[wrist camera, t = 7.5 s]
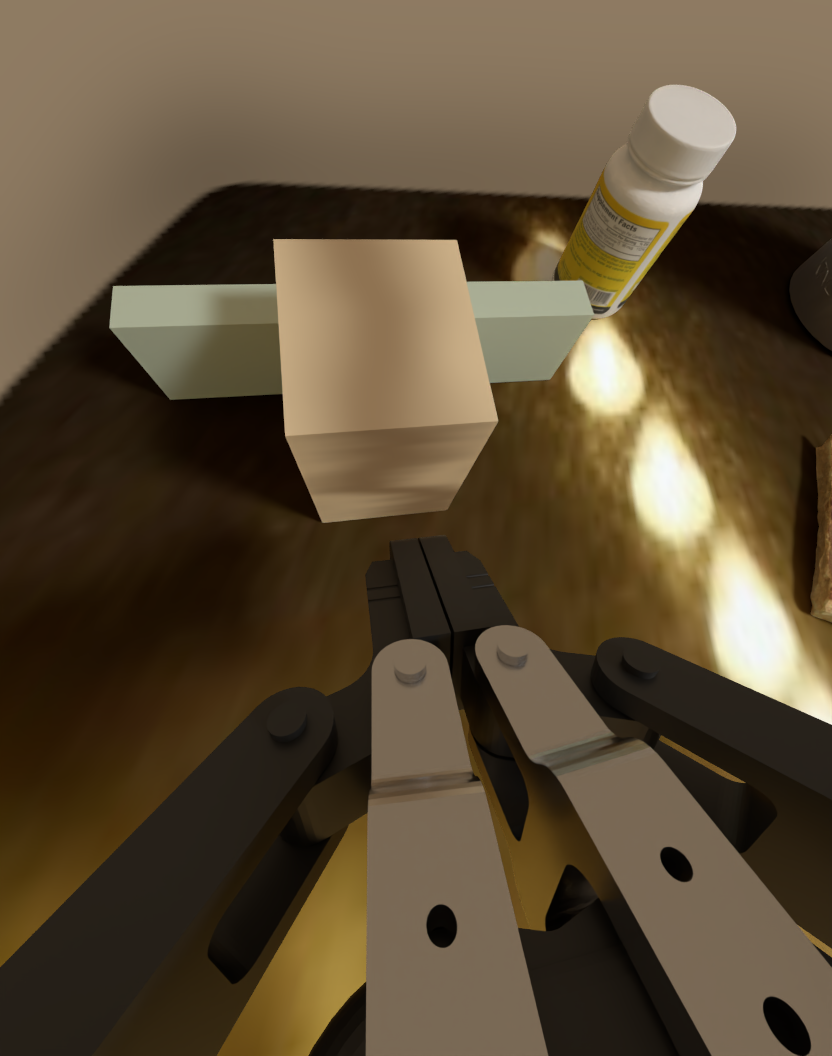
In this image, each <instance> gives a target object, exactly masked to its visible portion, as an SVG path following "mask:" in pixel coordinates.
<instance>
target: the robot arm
mask: <svg viewBox="0 0 832 1056" xmlns="http://www.w3.org/2000/svg"><path fill="white" fill-rule="evenodd" d="M789 292H790V298H791V302H792V305H793V307H794V310H795V312H796V314H797V316H798V317H799V319H800V321H801V322H802V324H803V325H804V326H805V327H806V329H807V330H808V331H809V332H810V333H811V334H812V336H813V337H815V338H816V339H817V340H818V341H819V342H820V343H821V344H822V345H824V346H825V347H826V348H828V349H829V350H831V351H832V239H830V240H829V241H828V242H827V243H826V244H825V245H824V246H822V247H821V248H820V249H819V250H818V251H817V252H816V253H814V254H813V255H812V256H811V257H810V258H809V259H808V260H806V261H805V262H804V263H803V264H802V265H801V266H800V267H799V268H798V269H797V270H796V271H795V272H794V273H793V276H792V278H791V280H790V288H789ZM366 585H367V595H368V604H369V614H370V623H371V633H372V643H373V657H372V661H371V663H370V666H369V667H368V669H367V671H366V672H365V673H364V674H363V675H362V676H361V677H360V678H359V679H358V680H357V681H356V682H354V683H353V684H351V685H349V686H348V687H346V688H344V689H342V690H340V691H337V692H335V693H333V694H331V695H329V696H327V697H326V696H325V695H324V694H322V693H321V692H319V691H317V690H315V689H312V688H307V687H295V688H290V689H286V690H283V691H280V692H278V693H276V694H274V695H272V696H270V697H269V698H267V699H266V700H264V701H263V702H262V703H261V704H260V705H259V706H257V707H256V708H255V709H254V710H253V711H252V713H251V714H250V715H249V716H248V717H247V718H246V719H245V720H244V721H243V722H242V723H241V724H240V725H239V726H238V727H237V728H236V729H235V730H234V731H233V732H232V733H231V734H230V735H229V736H228V737H227V738H226V739H225V740H224V741H223V742H222V743H221V744H220V745H219V746H218V747H217V748H216V749H215V750H214V751H213V752H212V753H211V754H210V755H209V756H208V757H207V758H206V759H205V760H204V761H203V762H202V763H201V764H200V765H199V766H198V767H197V768H196V769H195V770H194V771H193V772H192V773H191V774H190V775H189V776H188V777H187V778H186V780H185V781H184V782H183V783H182V784H181V785H180V786H179V787H178V788H177V789H176V790H175V791H174V792H173V793H172V794H171V795H170V796H169V797H168V798H167V799H166V800H165V801H164V802H163V803H162V804H161V805H160V806H159V807H158V808H157V809H156V810H155V811H154V812H153V813H152V814H151V815H150V816H149V817H148V818H147V819H146V820H145V821H144V822H143V823H142V824H141V825H140V826H139V827H138V828H137V829H136V830H135V831H134V832H133V833H132V834H131V835H130V836H129V837H128V838H127V839H126V840H125V841H124V842H123V843H122V844H121V845H120V847H119V848H118V849H117V850H116V851H115V852H114V853H113V854H112V855H111V856H110V857H109V858H108V859H107V860H106V861H105V862H104V863H103V864H102V865H101V866H100V867H99V868H98V869H97V870H96V871H95V872H94V873H93V874H92V875H91V876H90V877H89V878H88V879H87V880H86V881H85V882H84V883H83V884H82V885H81V886H80V887H79V888H78V889H77V890H76V891H75V892H74V893H73V894H72V895H71V896H70V897H69V898H68V899H67V900H66V901H65V902H64V903H63V904H62V905H61V906H60V907H59V908H58V909H57V910H56V911H55V912H54V913H53V915H52V916H51V917H50V918H49V919H48V920H47V921H46V922H45V923H44V924H43V925H42V926H41V927H40V928H39V929H38V930H37V931H36V932H35V933H34V934H33V935H32V936H31V937H30V938H29V939H28V940H27V941H26V942H25V943H24V944H23V945H22V946H21V947H20V948H19V949H18V950H17V951H16V952H15V953H14V954H13V955H12V956H11V957H10V958H9V959H8V960H7V961H6V962H5V963H4V964H3V965H2V966H1V967H0V1056H217V1054H218V1052H219V1050H220V1049H221V1047H222V1045H223V1043H224V1042H225V1040H226V1038H227V1037H228V1035H229V1033H230V1031H231V1030H232V1028H233V1026H234V1024H235V1023H236V1021H237V1019H238V1017H239V1016H240V1014H241V1012H242V1011H243V1009H244V1007H245V1005H246V1004H247V1002H248V1000H249V998H250V997H251V995H252V993H253V991H254V990H255V988H256V986H257V985H258V983H259V981H260V979H261V978H262V976H263V974H264V972H265V971H266V969H267V967H268V966H269V964H270V962H271V960H272V959H273V957H274V955H275V953H276V952H277V950H278V948H279V946H280V945H281V943H282V941H283V940H284V938H285V936H286V934H287V933H288V931H289V929H290V927H291V926H292V924H293V922H294V921H295V919H296V917H297V915H298V914H299V912H300V910H301V908H302V907H303V905H304V903H305V901H306V900H307V898H308V896H309V895H310V893H311V891H312V889H313V888H314V886H315V884H316V882H317V881H318V879H319V877H320V875H321V874H322V872H323V870H324V869H325V867H326V865H327V863H328V862H329V860H330V858H331V856H332V855H333V853H334V851H335V850H336V848H337V846H338V844H339V843H340V841H341V839H342V837H343V836H344V834H345V832H346V830H347V828H348V825H349V824H350V823H352V822H353V821H355V820H356V819H358V818H360V817H361V816H363V815H364V814H366V813H367V812H368V844H367V967H366V982H365V983H364V984H363V985H362V986H361V987H360V988H359V989H358V990H357V991H356V992H355V993H354V994H353V995H352V996H350V998H349V999H348V1000H347V1001H346V1002H345V1004H344V1005H343V1006H342V1007H341V1009H340V1010H339V1011H338V1012H337V1013H336V1015H335V1016H334V1017H333V1018H332V1019H331V1021H330V1022H329V1024H328V1026H327V1027H326V1029H325V1030H324V1032H323V1033H322V1035H321V1036H320V1038H319V1039H318V1041H317V1042H316V1044H315V1045H314V1047H313V1048H312V1050H311V1052H310V1054H309V1056H832V958H831V957H830V956H829V955H827V954H826V953H825V952H823V951H822V950H821V949H819V948H818V947H816V946H815V945H814V944H812V943H811V942H810V940H809V939H808V938H807V937H806V935H805V934H804V933H803V932H802V930H801V929H800V928H799V927H798V926H797V925H799V926H800V927H802V928H803V929H804V930H806V931H807V932H809V933H810V934H812V935H813V936H815V937H816V938H817V939H819V940H820V941H822V942H823V943H825V944H826V945H827V946H829V947H830V948H832V725H831V724H828V723H826V722H824V721H822V720H819V719H817V718H815V717H813V716H810V715H808V714H806V713H804V712H801V711H799V710H797V709H795V708H792V707H790V706H788V705H786V704H783V703H781V702H779V701H777V700H774V699H772V698H770V697H768V696H765V695H763V694H761V693H759V692H756V691H754V690H752V689H750V688H747V687H745V686H743V685H741V684H738V683H736V682H734V681H732V680H729V679H727V678H725V677H723V676H720V675H718V674H716V673H714V672H711V671H709V670H707V669H705V668H702V667H700V666H698V665H696V664H693V663H691V662H689V661H687V660H684V659H682V658H680V657H678V656H675V655H673V654H671V653H669V652H666V651H664V650H662V649H660V648H657V647H655V646H653V645H651V644H648V643H646V642H643V641H640V640H637V639H632V638H624V637H619V638H612V639H609V640H606V641H604V642H603V643H602V644H601V645H600V646H599V648H598V650H597V653H596V656H592V655H584V654H575V653H566V652H559V651H555V650H551V649H549V648H548V647H547V645H546V644H545V643H544V642H543V641H542V639H540V638H539V637H538V636H537V635H535V634H534V633H532V632H530V631H528V630H526V629H523V628H521V627H519V626H518V624H517V623H516V621H515V619H514V618H513V616H512V614H511V612H510V611H509V609H508V607H507V606H506V604H505V602H504V600H503V599H502V597H501V595H500V594H499V592H498V590H497V588H496V587H494V583H493V582H492V580H491V578H490V577H489V576H488V573H487V571H486V570H485V568H484V566H483V565H482V563H481V561H480V560H479V559H477V558H476V557H474V556H473V555H472V554H470V553H469V552H467V551H462V552H454V551H453V549H452V547H451V545H450V543H449V541H448V539H447V537H446V536H445V535H441V536H432V537H422V538H418V540H417V538H414V539H405V540H396V541H390V560H385V561H376V562H372V563H371V565H370V567H369V569H368V571H367V573H366ZM461 709H464V710H465V713H466V716H467V719H468V722H469V732H468V741H469V745H470V748H471V751H472V754H473V756H474V759H475V761H476V764H477V767H478V769H479V772H480V774H481V777H482V780H483V782H484V785H485V787H486V790H487V793H488V795H489V798H490V800H491V803H492V805H493V808H494V811H495V813H496V816H497V818H498V821H499V824H500V826H501V829H502V831H503V834H504V837H505V839H506V842H507V845H508V848H509V851H510V855H511V859H512V865H513V873H514V878H515V883H516V887H517V891H518V894H519V898H520V901H521V904H522V907H523V910H524V913H525V916H526V918H527V921H528V924H529V926H530V929H522V928H518V927H517V923H516V919H515V915H514V910H513V906H512V902H511V898H510V894H509V890H508V885H507V881H506V877H505V873H504V869H503V864H502V860H501V856H500V852H499V848H498V844H497V839H496V835H495V831H494V827H493V823H492V819H491V814H490V810H489V806H488V802H487V798H486V795H485V792H484V789H483V786H482V783H481V781H480V779H479V778H478V777H477V776H475V775H474V774H473V771H472V768H471V764H470V760H469V756H468V751H467V747H466V742H465V738H464V733H463V728H462V724H461V719H460V715H459V710H461ZM661 735H662V736H664V737H666V738H668V739H669V740H671V741H673V742H675V743H676V744H678V745H680V746H682V747H684V748H685V749H687V750H689V751H691V752H692V753H694V754H696V755H698V756H699V757H701V758H703V759H705V760H707V761H708V762H710V763H712V764H714V765H715V766H717V767H719V768H721V769H723V770H724V771H726V772H728V773H730V774H731V775H733V776H735V777H737V778H739V779H740V780H742V781H744V782H746V783H738V782H734V781H731V780H729V779H726V778H724V777H722V776H721V775H719V774H717V773H715V772H714V771H712V770H710V769H708V768H707V767H705V766H703V765H701V764H700V763H698V762H696V761H694V760H693V759H691V758H689V757H687V756H686V755H684V754H682V753H680V752H679V751H677V750H675V749H673V748H672V747H670V746H668V745H666V744H665V743H663V742H661V741H659V738H660V736H661Z"/></svg>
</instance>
